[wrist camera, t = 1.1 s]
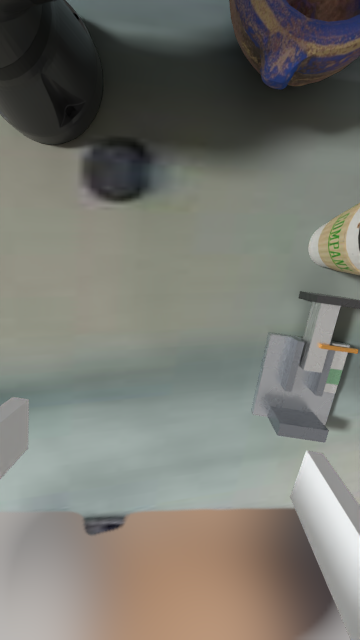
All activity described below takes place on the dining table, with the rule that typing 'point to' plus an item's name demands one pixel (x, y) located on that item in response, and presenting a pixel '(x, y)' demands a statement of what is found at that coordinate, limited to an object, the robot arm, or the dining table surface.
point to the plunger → (322, 329)
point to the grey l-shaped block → (296, 388)
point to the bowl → (297, 38)
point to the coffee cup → (338, 243)
